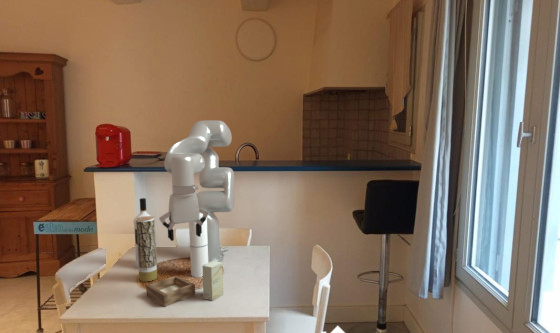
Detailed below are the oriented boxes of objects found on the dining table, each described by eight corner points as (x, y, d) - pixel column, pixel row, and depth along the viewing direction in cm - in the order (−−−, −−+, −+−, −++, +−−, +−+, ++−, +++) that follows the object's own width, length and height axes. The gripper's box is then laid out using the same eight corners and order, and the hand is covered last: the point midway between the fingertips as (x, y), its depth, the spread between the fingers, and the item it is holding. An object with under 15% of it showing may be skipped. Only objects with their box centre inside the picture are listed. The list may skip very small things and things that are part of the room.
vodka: (149, 270, 169) (145, 200, 165) (130, 268, 171) (126, 200, 168) (161, 262, 178) (158, 196, 174) (143, 260, 180) (139, 195, 176)
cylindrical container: (193, 278, 159) (191, 217, 156) (189, 272, 165) (186, 214, 162) (210, 275, 162) (208, 215, 159) (205, 269, 169) (203, 212, 166)
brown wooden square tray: (176, 285, 153) (176, 275, 152) (195, 294, 144) (194, 284, 144) (146, 296, 144) (146, 285, 143) (164, 306, 135) (164, 295, 135)
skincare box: (212, 301, 139) (211, 267, 138) (202, 298, 141) (201, 265, 140) (223, 294, 144) (222, 262, 143) (214, 291, 147) (213, 260, 145)
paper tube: (151, 283, 155) (148, 220, 152) (136, 282, 156) (132, 220, 153) (160, 276, 162) (157, 216, 159) (145, 275, 163) (142, 215, 160)
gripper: (203, 186, 147) (205, 232, 149) (155, 191, 139) (158, 239, 140) (210, 189, 141) (212, 236, 142) (161, 194, 132) (163, 244, 134)
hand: (185, 237), depth 141 cm, fingers open, 9 cm apart
